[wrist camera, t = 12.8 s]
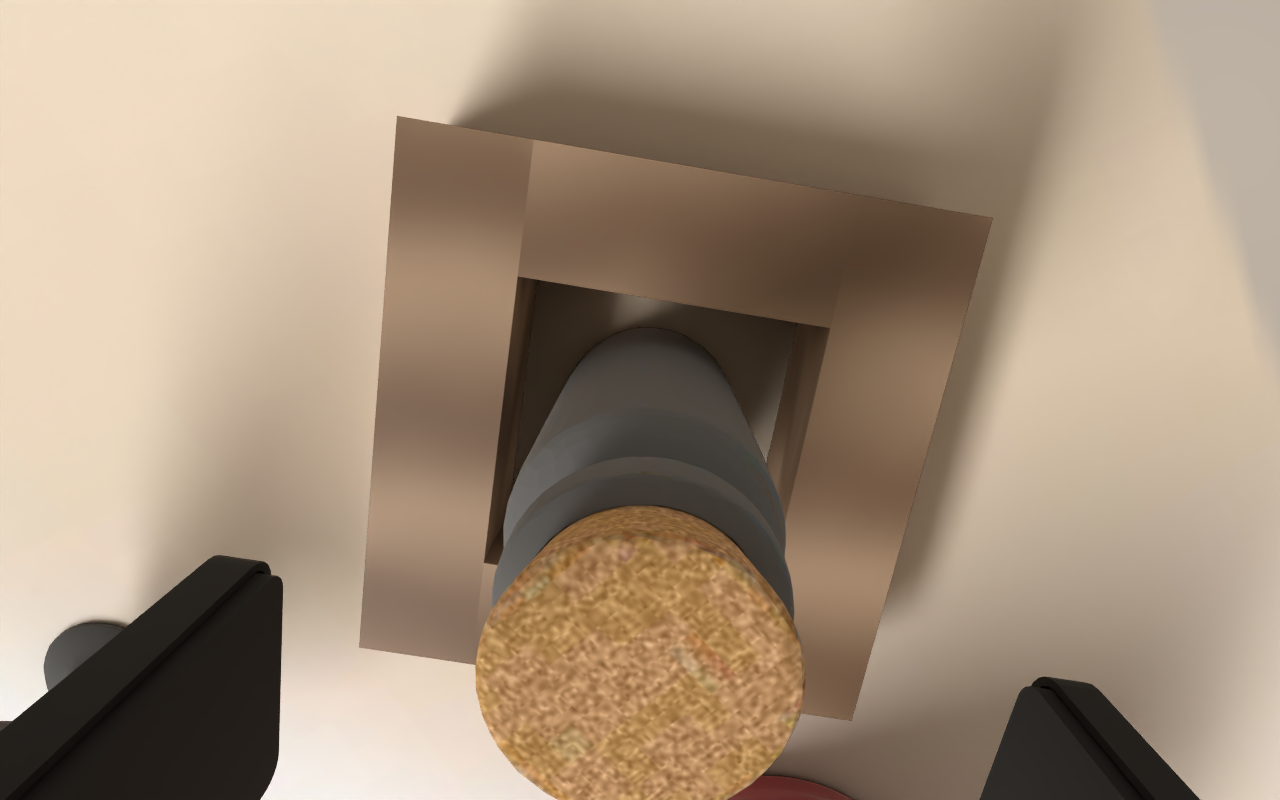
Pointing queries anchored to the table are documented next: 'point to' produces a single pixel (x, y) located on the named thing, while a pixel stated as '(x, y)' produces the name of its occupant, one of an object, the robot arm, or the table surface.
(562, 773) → the bottle
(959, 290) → the collar block
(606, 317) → the table surface
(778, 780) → the canister
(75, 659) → the sundae
